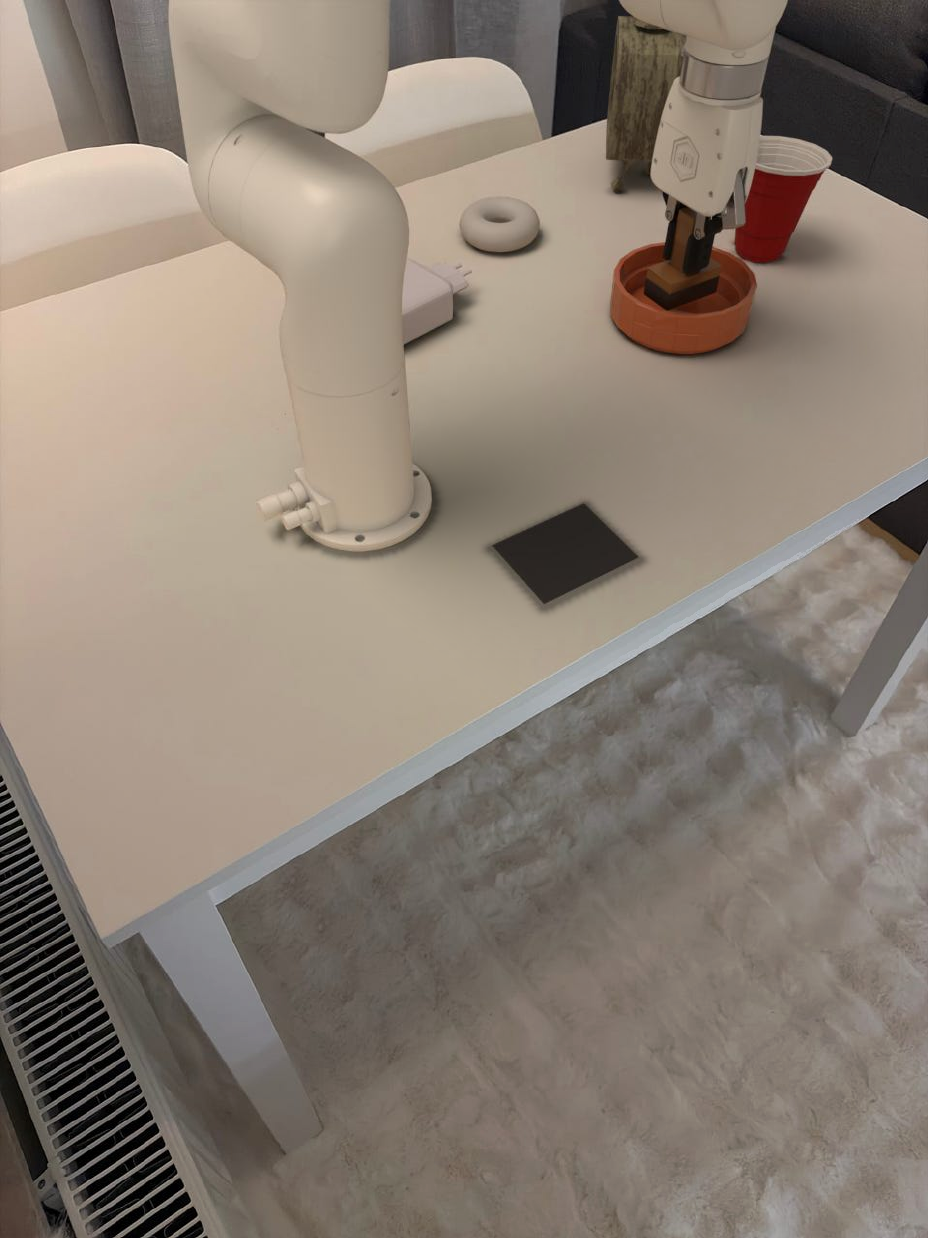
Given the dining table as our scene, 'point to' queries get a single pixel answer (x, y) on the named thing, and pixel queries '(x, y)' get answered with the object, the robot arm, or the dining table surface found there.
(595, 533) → the mat
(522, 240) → the donut
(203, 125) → the robot arm
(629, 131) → the tabletop clock
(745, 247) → the plastic cup
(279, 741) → the dining table surface
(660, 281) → the brush
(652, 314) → the bowl
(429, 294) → the charger
